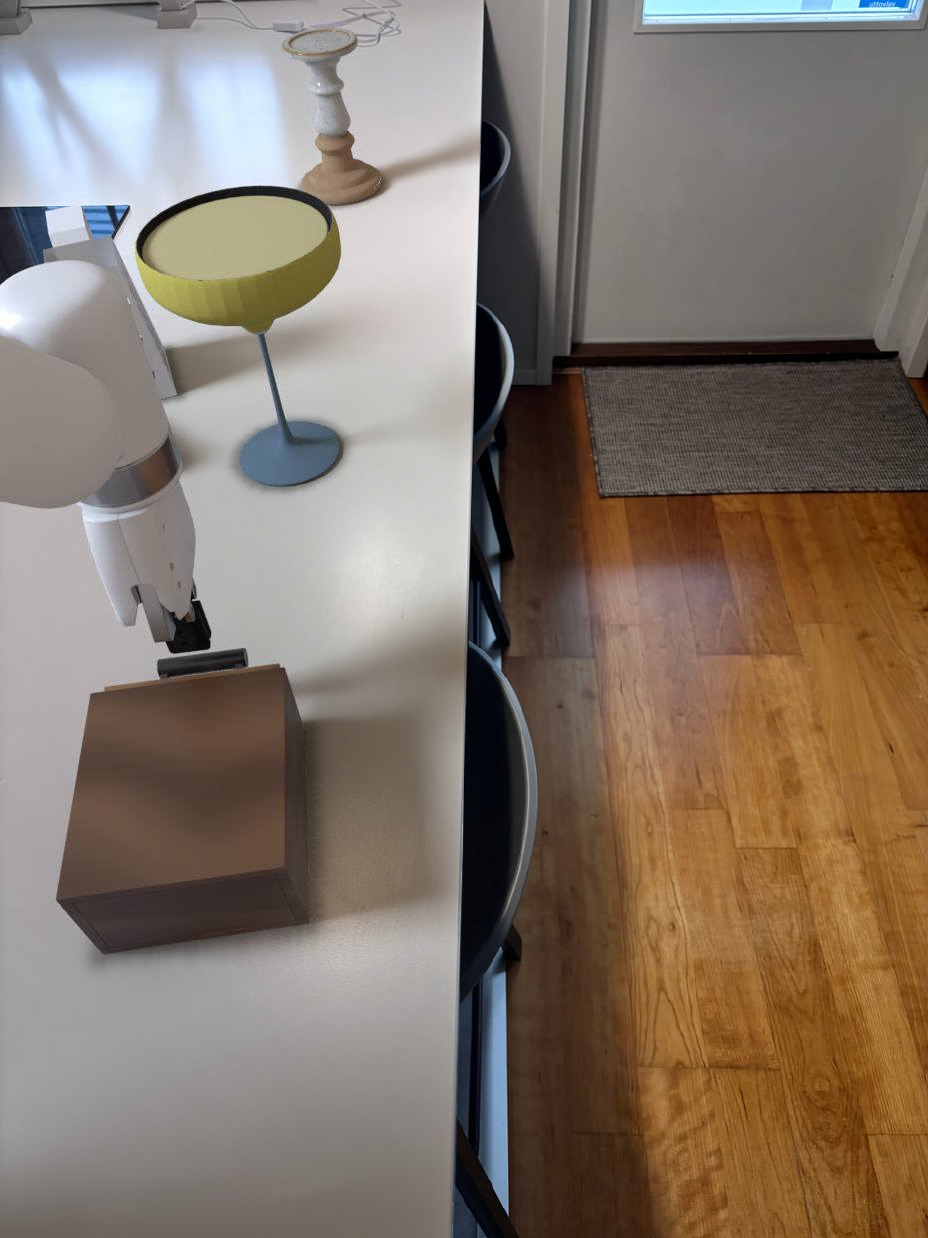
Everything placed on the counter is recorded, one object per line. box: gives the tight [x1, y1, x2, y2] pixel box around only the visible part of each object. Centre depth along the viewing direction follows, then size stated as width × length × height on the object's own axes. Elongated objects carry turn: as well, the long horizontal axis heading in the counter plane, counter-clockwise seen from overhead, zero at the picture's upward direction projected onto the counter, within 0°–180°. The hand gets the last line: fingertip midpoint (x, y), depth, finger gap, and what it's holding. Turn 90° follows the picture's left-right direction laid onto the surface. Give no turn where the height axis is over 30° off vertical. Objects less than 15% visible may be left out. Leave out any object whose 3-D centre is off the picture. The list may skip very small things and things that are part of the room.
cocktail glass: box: [134, 185, 342, 487], centre depth 93 cm, size 18×18×25 cm
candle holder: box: [281, 27, 382, 206], centre depth 137 cm, size 12×12×20 cm
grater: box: [42, 203, 178, 400], centre depth 106 cm, size 10×10×20 cm
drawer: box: [103, 647, 281, 692], centre depth 72 cm, size 20×13×7 cm
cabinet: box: [55, 666, 310, 954], centre depth 69 cm, size 17×15×9 cm
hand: (191, 644), depth 75 cm, fingers closed
